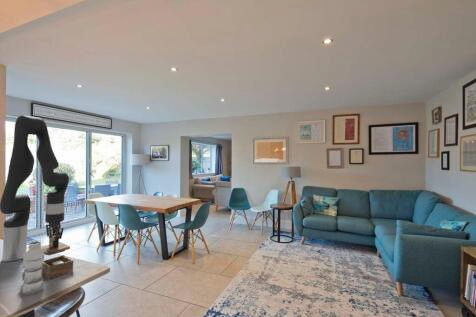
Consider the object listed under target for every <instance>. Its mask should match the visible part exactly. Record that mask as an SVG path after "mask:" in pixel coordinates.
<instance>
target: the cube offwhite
mask: <svg viewBox="0 0 476 317" xmlns="http://www.w3.org/2000/svg"><path fill="white" fill-rule="evenodd" d="M62 263H64V262H63V261H61V260H60V261H57V262H53V263H52V266H55V265H59V264H62Z"/></svg>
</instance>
